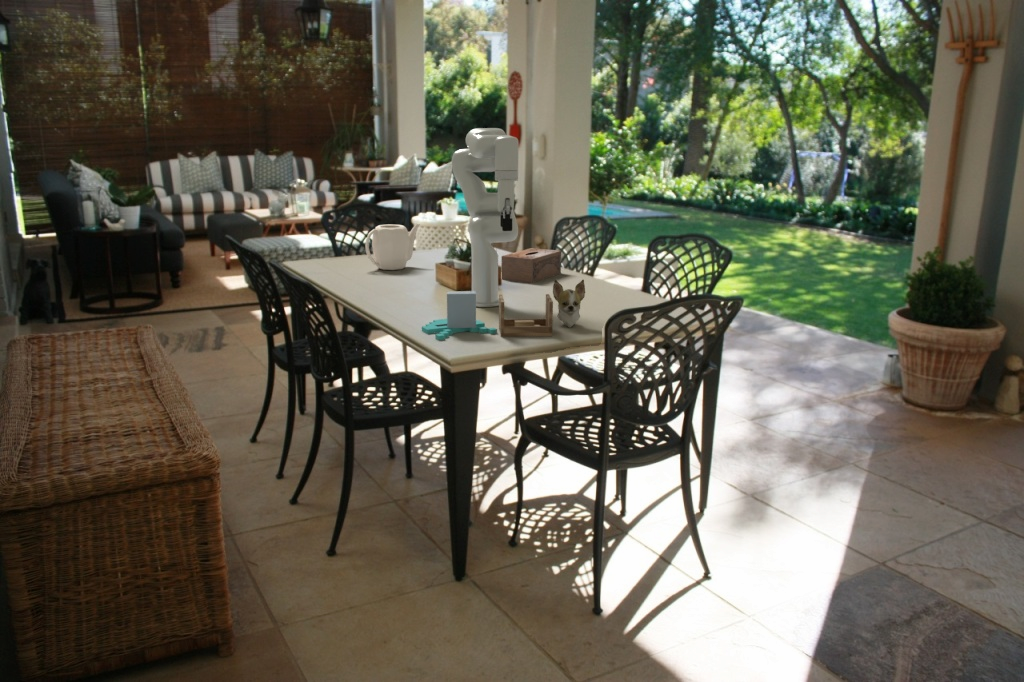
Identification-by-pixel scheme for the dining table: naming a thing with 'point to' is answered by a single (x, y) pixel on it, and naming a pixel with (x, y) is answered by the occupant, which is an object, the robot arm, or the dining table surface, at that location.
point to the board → (461, 309)
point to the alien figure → (453, 329)
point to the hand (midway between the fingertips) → (506, 228)
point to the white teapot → (391, 246)
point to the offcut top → (523, 323)
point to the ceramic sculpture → (569, 302)
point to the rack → (508, 324)
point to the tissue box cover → (531, 265)
